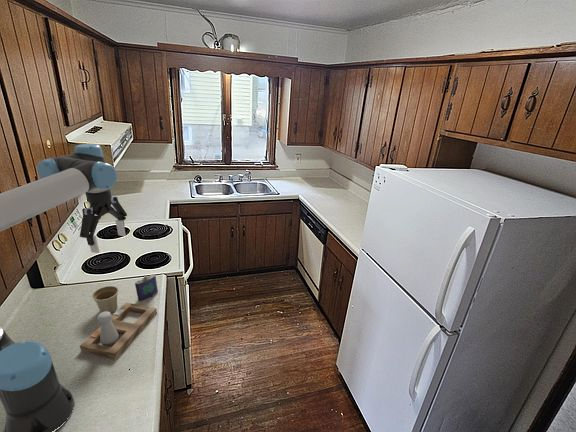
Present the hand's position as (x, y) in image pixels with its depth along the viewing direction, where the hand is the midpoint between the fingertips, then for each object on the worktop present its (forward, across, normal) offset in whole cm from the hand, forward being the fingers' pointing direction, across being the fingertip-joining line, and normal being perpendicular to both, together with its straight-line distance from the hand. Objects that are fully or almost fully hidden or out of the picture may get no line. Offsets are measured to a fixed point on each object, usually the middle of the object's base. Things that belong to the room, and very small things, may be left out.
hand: (109, 243), depth 114 cm
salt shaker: (+32, -16, -7) cm, 36 cm away
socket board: (+32, -10, -7) cm, 34 cm away
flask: (+32, +11, -4) cm, 34 cm away
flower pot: (+32, -1, +6) cm, 33 cm away
